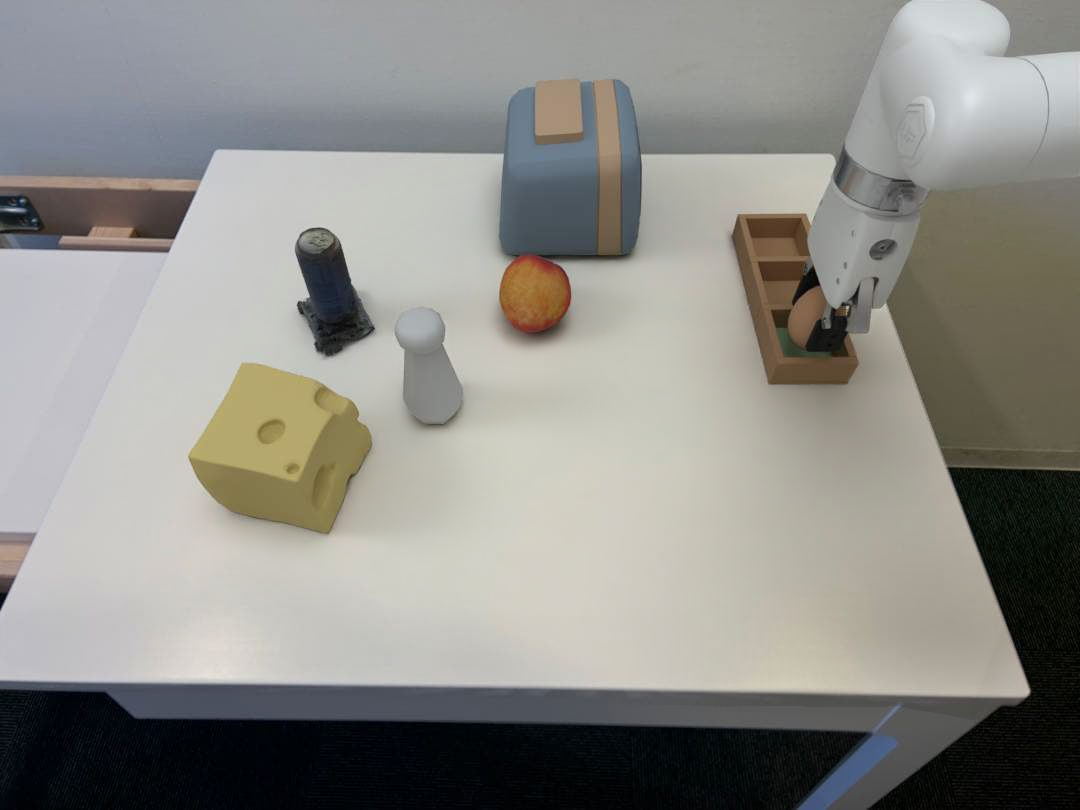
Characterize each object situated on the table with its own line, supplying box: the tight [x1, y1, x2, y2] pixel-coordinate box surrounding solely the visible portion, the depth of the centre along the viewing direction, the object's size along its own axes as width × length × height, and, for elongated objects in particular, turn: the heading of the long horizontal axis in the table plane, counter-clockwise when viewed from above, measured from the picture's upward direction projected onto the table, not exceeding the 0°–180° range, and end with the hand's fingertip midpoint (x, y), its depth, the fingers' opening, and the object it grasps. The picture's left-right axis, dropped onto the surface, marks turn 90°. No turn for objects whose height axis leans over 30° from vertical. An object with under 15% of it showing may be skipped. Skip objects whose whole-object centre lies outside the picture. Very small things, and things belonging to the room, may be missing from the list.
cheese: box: [187, 362, 373, 534], centre depth 61 cm, size 10×11×10 cm
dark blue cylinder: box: [294, 226, 376, 356], centre depth 72 cm, size 9×8×12 cm
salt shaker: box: [394, 306, 464, 425], centre depth 65 cm, size 6×6×13 cm
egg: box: [788, 285, 847, 351], centre depth 69 cm, size 5×5×8 cm
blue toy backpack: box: [498, 77, 643, 256], centre depth 80 cm, size 16×16×16 cm
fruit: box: [498, 254, 572, 333], centre depth 74 cm, size 8×8×8 cm
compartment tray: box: [731, 212, 860, 385], centre depth 77 cm, size 23×8×3 cm, turn 0°
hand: (814, 325), depth 70 cm, fingers closed on egg, 5 cm apart
